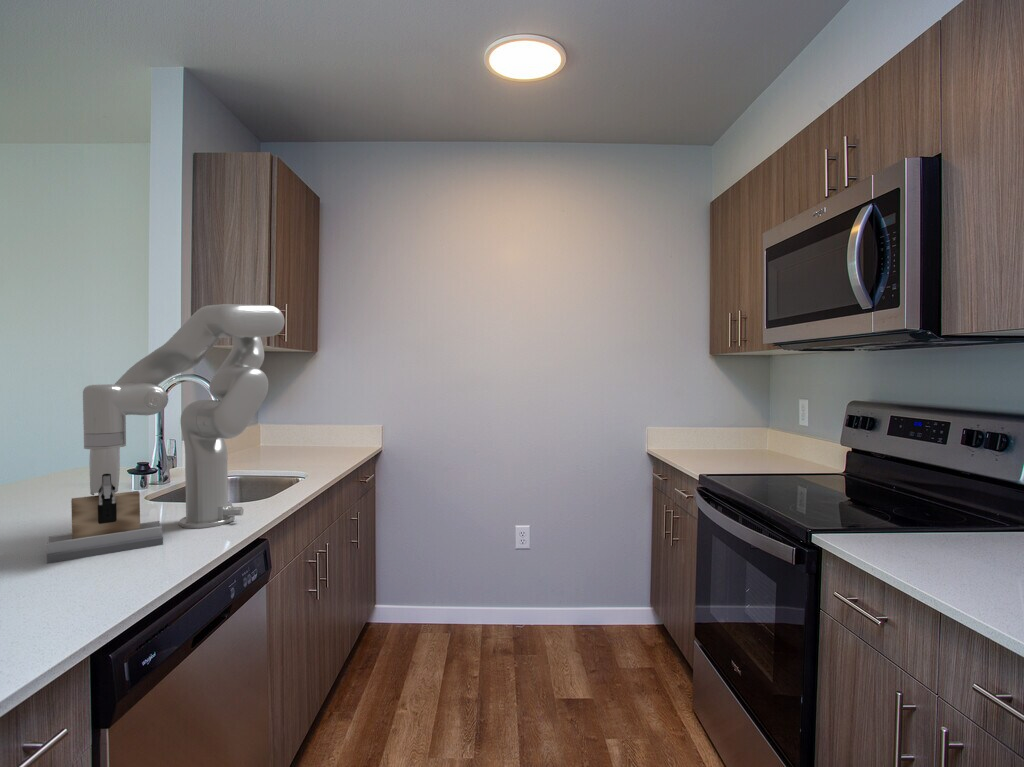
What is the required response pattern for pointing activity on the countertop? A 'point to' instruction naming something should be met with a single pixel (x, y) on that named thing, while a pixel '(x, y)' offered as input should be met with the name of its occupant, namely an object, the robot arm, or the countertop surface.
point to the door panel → (88, 515)
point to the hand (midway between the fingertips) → (106, 517)
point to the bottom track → (103, 543)
